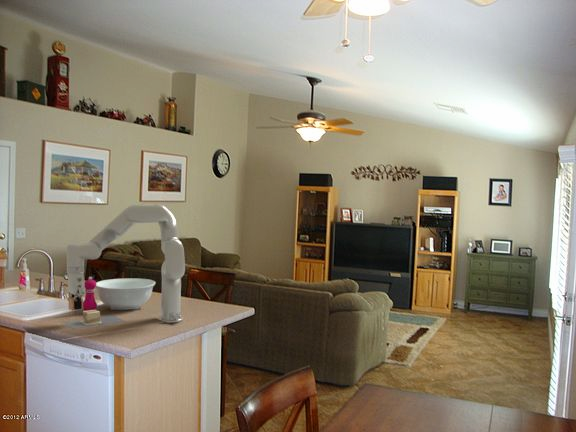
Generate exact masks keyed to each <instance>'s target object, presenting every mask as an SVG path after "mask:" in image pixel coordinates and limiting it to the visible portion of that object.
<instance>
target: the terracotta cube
mask: <svg viewBox="0 0 576 432" xmlns="http://www.w3.org/2000/svg"><path fill="white" fill-rule="evenodd" d="M74 301H75V297H73V298H70V297H68V309H69V310H70V311H77V310H79V311H80V309H77V310H75V309H74ZM83 302H84V297H82V309H81V310H83Z"/></svg>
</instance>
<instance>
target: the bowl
mask: <svg viewBox="0 0 576 432" xmlns="http://www.w3.org/2000/svg"><path fill="white" fill-rule="evenodd" d="M155 285H156V281H155V280H153V279H147V278H138V277H137V278H133V277H132V278H125V277H123V278H113V279H104V280H100V281H97V282H96V287H95V289H97V295H98V297H99V299H100V301H101V302H102V303H103V304H104V305H106V306H108V307H109V308H110V310H118V311H120V310H121V311H125V310H127V311H128V310H139V309H140V308H141V305H142V304H143V305H144V303H146V302H148V300H149V299H150V298H151V296H152V293H153V288H154V286H155Z"/></svg>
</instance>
